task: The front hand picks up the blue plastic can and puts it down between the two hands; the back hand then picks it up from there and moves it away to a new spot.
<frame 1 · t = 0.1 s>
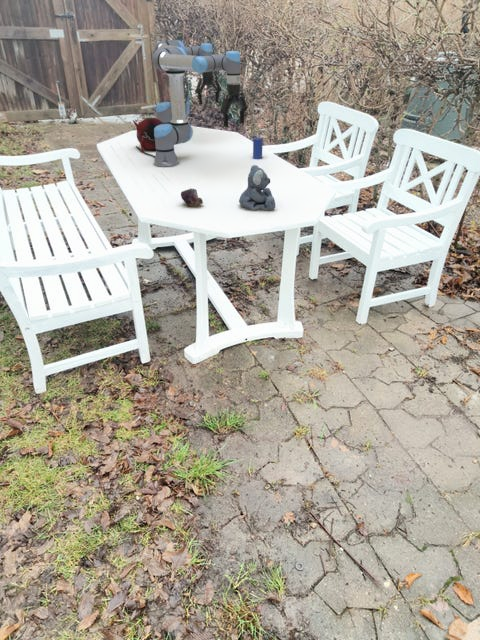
front hand: (234, 125, 259), 28 cm above the table, tool pointing down, fingers open, 13 cm apart
back hand: (209, 103, 321), 28 cm above the table, tool pointing down, fingers open, 13 cm apart
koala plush: (256, 206, 229), on the table
rock: (191, 204, 231), on the table
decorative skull: (154, 148, 328), on the table
can: (257, 157, 305), on the table
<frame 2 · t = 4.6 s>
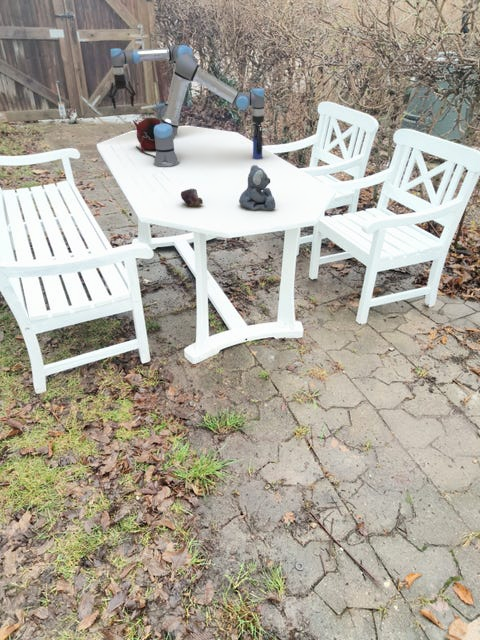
front hand: (257, 152, 303), 4 cm above the table, tool pointing down, fingers closed on can, 6 cm apart
back hand: (123, 107, 328), 25 cm above the table, tool pointing down, fingers open, 13 cm apart
can: (257, 157, 305), on the table, touching front hand
everything else where it was.
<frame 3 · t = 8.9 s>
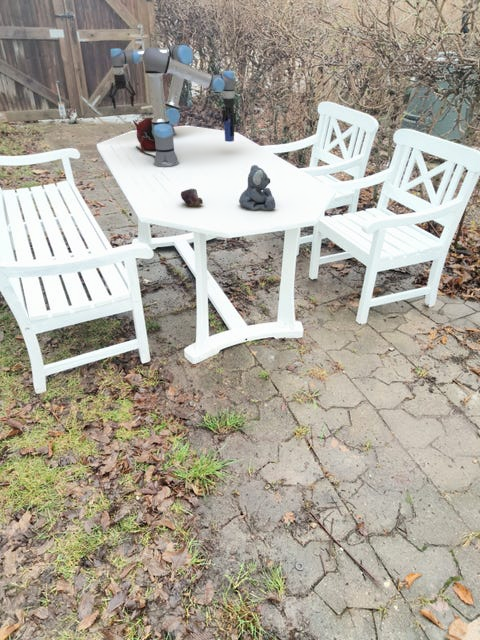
front hand: (229, 134, 307), 12 cm above the table, tool pointing down, fingers closed on can, 6 cm apart
back hand: (123, 107, 328), 25 cm above the table, tool pointing down, fingers open, 13 cm apart
can: (229, 140, 309), point 9 cm above the table, touching front hand
everything else where it was.
when the front hand's fingers open (5 cm above the table, at t = 13.4 s): can drops 2 cm, on the table.
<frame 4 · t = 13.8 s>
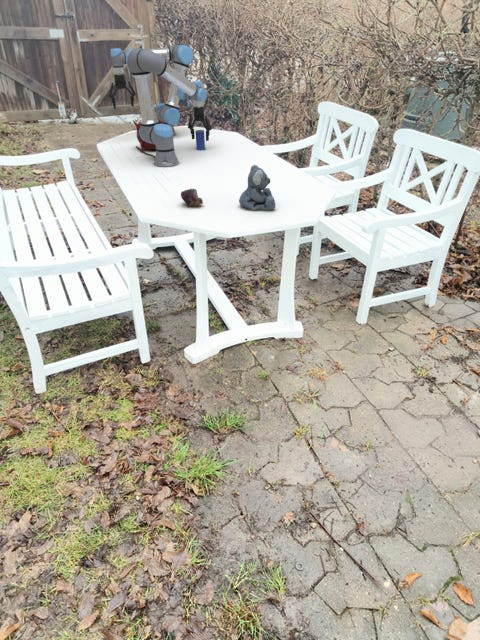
front hand: (200, 139, 322), 6 cm above the table, tool pointing down, fingers open, 11 cm apart
back hand: (123, 107, 328), 25 cm above the table, tool pointing down, fingers open, 13 cm apart
can: (200, 149, 325), on the table
everything else where it was.
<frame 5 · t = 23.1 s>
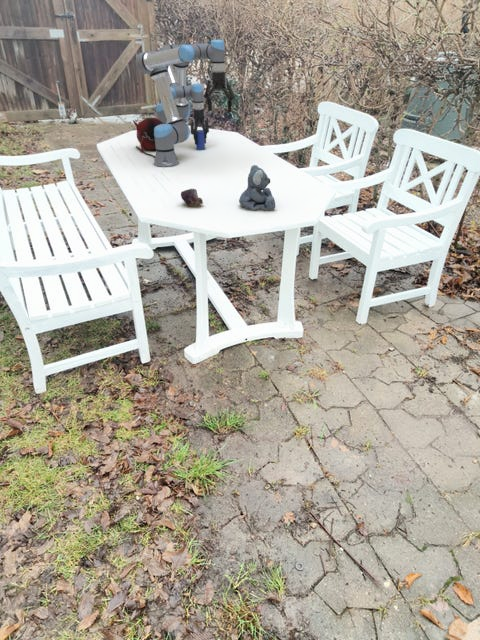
front hand: (219, 111, 269), 32 cm above the table, tool pointing down, fingers open, 13 cm apart
back hand: (200, 143, 323), 4 cm above the table, tool pointing down, fingers closed on can, 6 cm apart
can: (200, 149, 325), on the table, touching back hand
everything else where it was.
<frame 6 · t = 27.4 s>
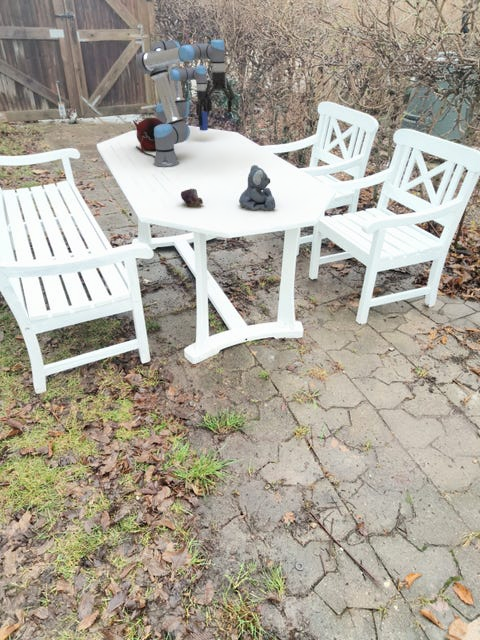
front hand: (219, 111, 269), 32 cm above the table, tool pointing down, fingers open, 13 cm apart
back hand: (203, 124, 337), 12 cm above the table, tool pointing down, fingers closed on can, 6 cm apart
can: (203, 129, 339), point 9 cm above the table, touching back hand
everything else where it was.
when the back hand's fingers open (5 cm above the table, at t = 31.6 s): can drops 2 cm, on the table.
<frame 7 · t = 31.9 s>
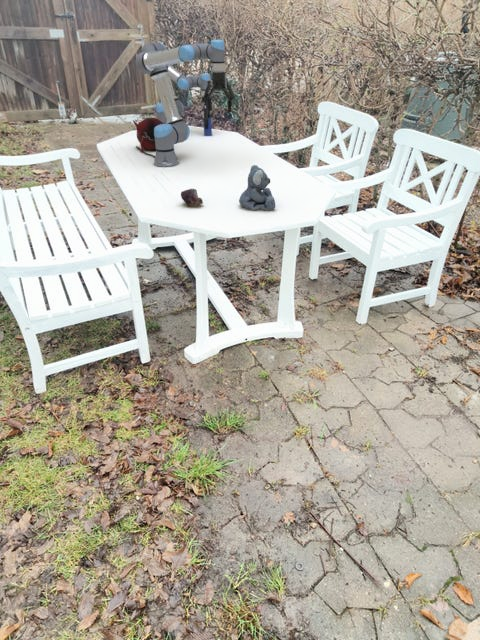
front hand: (219, 111, 269), 32 cm above the table, tool pointing down, fingers open, 13 cm apart
back hand: (207, 127, 359), 6 cm above the table, tool pointing down, fingers open, 9 cm apart
can: (208, 135, 362), on the table
everything else where it was.
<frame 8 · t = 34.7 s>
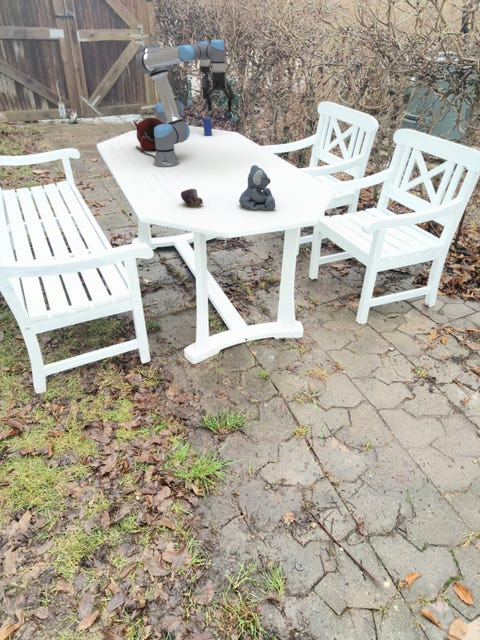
front hand: (219, 111, 269), 32 cm above the table, tool pointing down, fingers open, 13 cm apart
back hand: (206, 97, 346), 28 cm above the table, tool pointing down, fingers open, 13 cm apart
nothing on the table moved.
at the end: can inside the target area (0.1 cm from its centre), on the table; can tilted 0°; the two hands never held the can at the same time; the front hand is holding nothing; the back hand is holding nothing; can at rest at the end (0.0 cm/s) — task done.
